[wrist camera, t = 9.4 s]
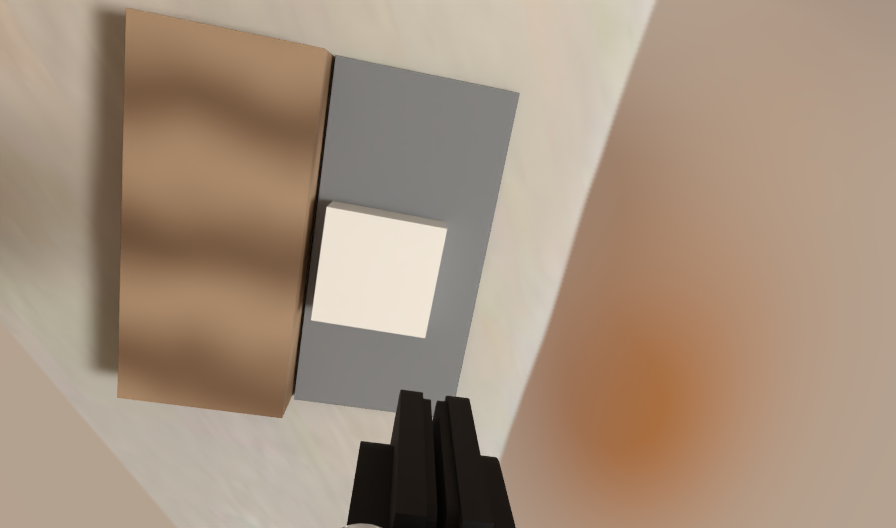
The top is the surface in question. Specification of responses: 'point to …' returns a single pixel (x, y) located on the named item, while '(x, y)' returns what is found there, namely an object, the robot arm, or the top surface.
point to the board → (216, 212)
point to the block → (377, 269)
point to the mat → (413, 193)
